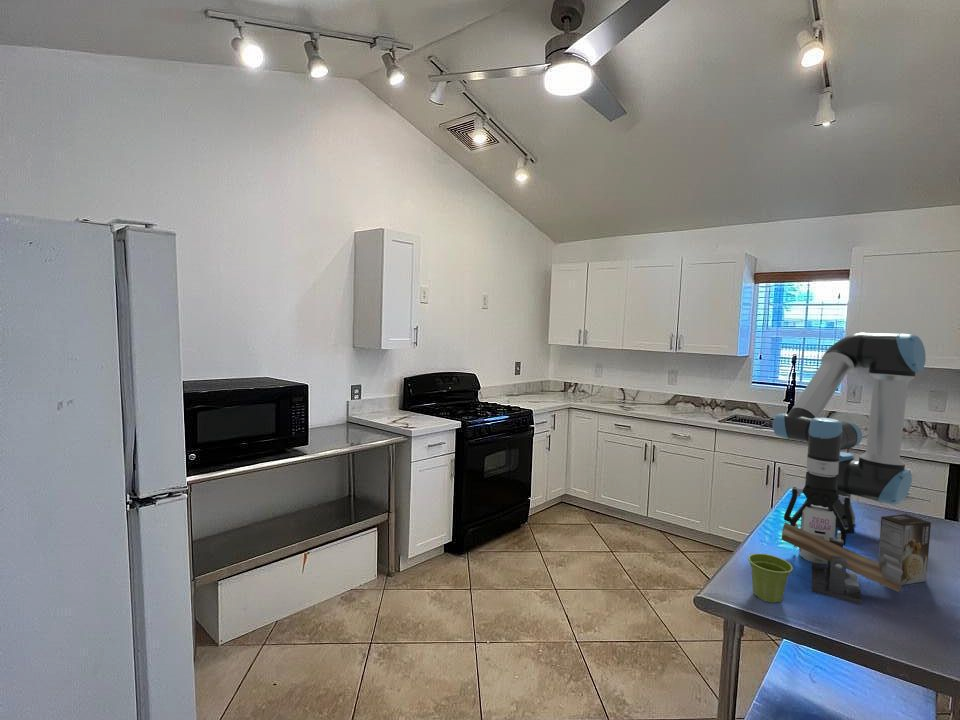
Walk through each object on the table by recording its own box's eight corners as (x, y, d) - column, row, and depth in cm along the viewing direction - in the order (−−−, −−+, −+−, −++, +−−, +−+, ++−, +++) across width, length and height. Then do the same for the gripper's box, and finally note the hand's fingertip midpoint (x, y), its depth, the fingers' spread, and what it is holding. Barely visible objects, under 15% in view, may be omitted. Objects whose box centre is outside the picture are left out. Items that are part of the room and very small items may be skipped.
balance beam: (782, 527, 141) (788, 512, 140) (892, 574, 128) (899, 559, 127) (781, 539, 132) (787, 524, 131) (898, 592, 120) (906, 575, 119)
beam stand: (811, 566, 140) (813, 533, 140) (856, 577, 135) (859, 542, 134) (811, 592, 126) (814, 555, 126) (861, 605, 121) (865, 566, 120)
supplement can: (819, 552, 150) (823, 502, 148) (840, 565, 141) (844, 512, 140) (792, 551, 149) (795, 501, 148) (811, 565, 141) (815, 512, 140)
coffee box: (901, 570, 139) (906, 513, 138) (927, 582, 133) (932, 522, 132) (875, 574, 137) (880, 515, 136) (901, 586, 131) (906, 525, 130)
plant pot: (790, 593, 126) (792, 559, 125) (790, 611, 117) (793, 575, 117) (747, 583, 130) (749, 550, 130) (745, 599, 122) (747, 564, 122)
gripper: (776, 469, 146) (770, 545, 148) (872, 484, 134) (865, 566, 136) (777, 463, 153) (772, 536, 154) (869, 477, 141) (863, 555, 142)
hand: (816, 550), depth 145 cm, fingers open, 9 cm apart
